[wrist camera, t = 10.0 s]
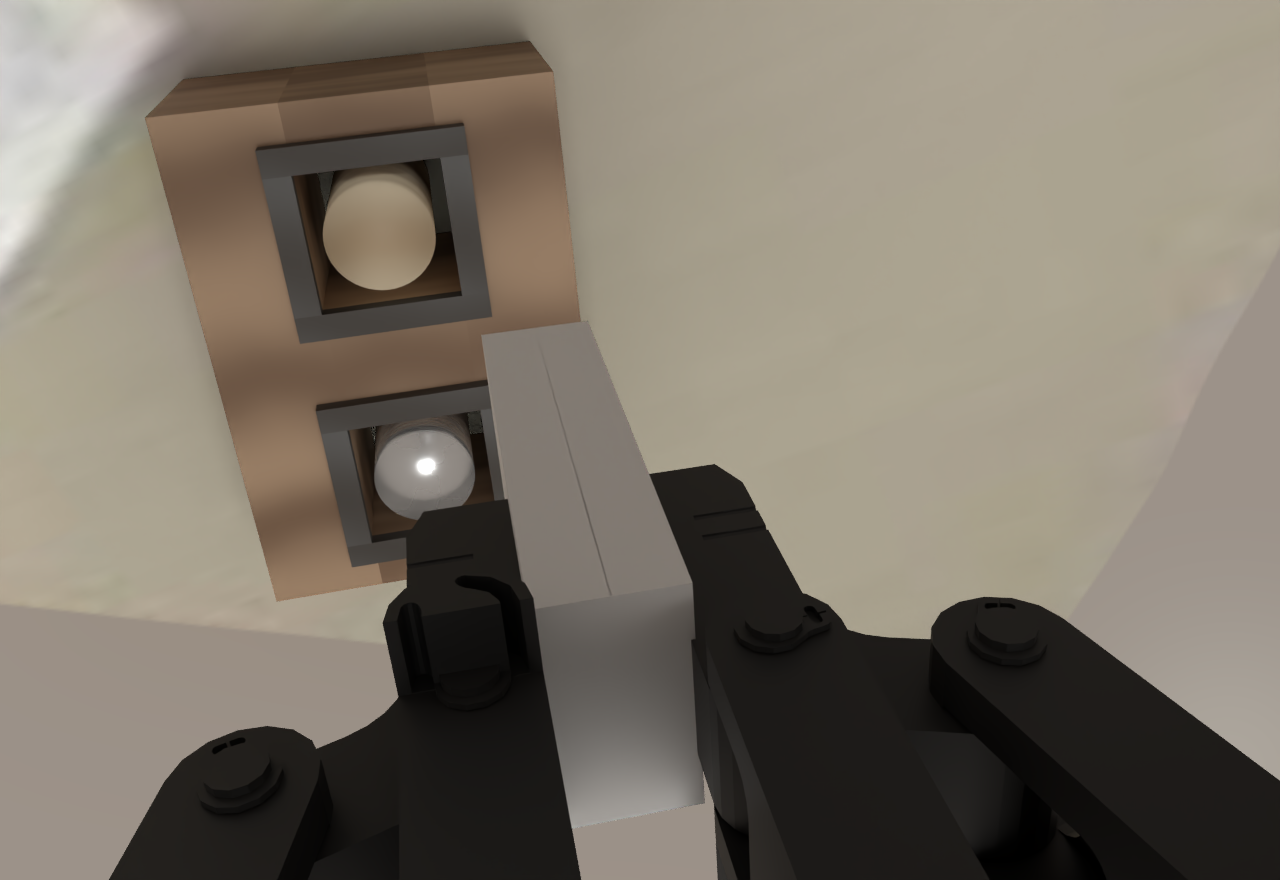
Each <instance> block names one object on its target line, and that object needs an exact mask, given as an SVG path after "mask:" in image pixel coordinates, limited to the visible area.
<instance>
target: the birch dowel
mask: <svg viewBox="0 0 1280 880" xmlns="http://www.w3.org/2000/svg"><path fill="white" fill-rule="evenodd" d="M323 242H324V247H325V250H326V253H327V255H328V258H329V260H330V261H331V263H332V265H333V266H334V267H335V268H336V270H337V271H338V272H339V273H340V274H341V275H342V276H344V277H345V278H346V279H348V280H349V281H351V282H353V283H354V284H356V285H359V286H361V287H364V288H368V289H373V290H390V289H395V288H399V287H402V286H404V285H406V284H409V283H410V282H412V281H413V280H415V279H416V278H417V277H419V276H420V275H421V274H422V273H423V272H424V270H425V269H426V268H427V266H428V265H429V263H430V261H431V259H432V256H433V253H434V250H435V243H436V235H435V225H434V216H433V207H432V198H431V189H430V180H429V175H428V171H427V168H426V166H425V164H424V162H423V160H419V161H410V162H402V163H394V164H386V165H378V166H370V167H361V168H353V169H345V170H337V171H334V175H333V180H332V185H331V190H330V195H329V201H328V206H327V211H326V216H325V221H324V227H323Z"/></svg>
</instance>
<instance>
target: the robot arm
mask: <svg viewBox="0 0 1280 880" xmlns="http://www.w3.org/2000/svg"><path fill="white" fill-rule="evenodd" d="M481 337H482V344H483V351H484V358H485V365H486V372H487V379H488V386H489V393H490V400H491V407H492V414H493V421H494V428H495V435H496V442H497V449H498V456H499V463H500V470H501V477H502V484H503V491H504V498H505V499H503V500H496V501H490V502H483V503H477V504H470V505H463V506H457V507H450V508H444V509H437V510H431V511H424V512H423V513H422V515H421V516H420V518H419V519H418V521H417V522H416V524H415V525H414V527H413V528H412V530H411V531H410V533H409V534H408V536H407V537H406V564H407V588H406V589H404V590H403V591H402V592H401V593H400V594H399V595H398V596H397V597H396V598H395V599H394V600H393V601H392V602H391V603H390V604H389V606H388V609H387V612H386V615H385V618H384V621H383V627H384V631H385V636H386V641H387V645H388V650H389V655H390V659H391V664H392V668H393V673H394V678H395V683H396V687H397V692H398V696H399V697H398V699H397V700H396V701H395V702H394V704H393V705H392V706H391V707H390V708H389V709H388V710H387V711H386V712H385V713H384V714H383V715H382V716H380V717H379V718H378V719H376V720H375V721H373V722H372V723H371V724H369V725H368V726H366V727H364V728H362V729H360V730H358V731H356V732H354V733H352V734H351V735H349V736H346V737H344V738H342V739H339V740H337V741H335V742H332V743H330V744H327V745H325V746H322V747H320V748H317V749H316V748H315V746H314V744H313V742H312V740H310V739H308V738H307V737H305V736H303V735H302V734H300V733H298V732H296V731H295V730H293V729H285V728H277V727H270V726H265V727H258V728H251V729H244V730H238V731H235V732H233V733H230V734H227V735H225V736H223V737H220V738H218V739H215V740H212V741H210V742H208V743H206V744H205V745H203V746H202V747H200V748H199V749H198V750H196V751H195V752H193V753H192V754H191V755H189V756H187V757H186V758H185V759H183V760H182V761H181V762H180V763H179V765H178V766H177V767H176V768H175V770H174V771H173V772H172V773H171V774H170V776H169V777H168V778H167V779H166V780H165V782H164V783H163V785H162V787H161V789H160V790H159V792H158V794H157V796H156V798H155V799H154V801H153V803H152V805H151V807H150V808H149V810H148V812H147V813H146V815H145V817H144V819H143V821H142V822H141V824H140V826H139V827H138V829H137V831H136V833H135V835H134V836H133V838H132V840H131V842H130V843H129V845H128V847H127V849H126V850H125V852H124V854H123V856H122V858H121V859H120V861H119V863H118V865H117V866H116V868H115V870H114V872H113V873H112V875H111V877H110V879H109V880H581V876H580V871H579V865H578V860H577V855H576V849H575V843H574V838H573V833H572V829H573V828H578V827H583V826H588V825H593V824H599V823H603V822H609V821H614V820H620V819H625V818H630V817H635V816H640V815H646V814H651V813H656V812H661V811H666V810H672V809H677V808H682V807H687V806H692V805H698V804H703V803H705V799H704V781H703V772H704V775H705V777H706V780H707V784H708V787H709V790H710V793H711V796H712V799H713V802H714V812H715V833H716V850H717V851H716V853H717V872H718V880H1280V781H1279V780H1278V779H1277V778H1275V777H1274V776H1273V775H1271V774H1270V773H1269V772H1267V771H1266V770H1265V769H1263V768H1262V767H1261V766H1259V765H1258V764H1257V763H1255V762H1254V761H1253V760H1251V759H1250V758H1249V757H1247V756H1246V755H1245V754H1243V753H1242V752H1241V751H1239V750H1238V749H1237V748H1235V747H1234V746H1233V745H1231V744H1230V743H1229V742H1227V741H1226V740H1225V739H1223V738H1222V737H1221V736H1219V735H1218V734H1217V733H1215V732H1214V731H1212V730H1211V729H1210V728H1209V727H1207V726H1206V725H1204V724H1203V723H1202V722H1201V721H1199V720H1198V719H1196V718H1195V717H1194V716H1193V715H1191V714H1190V713H1188V712H1187V711H1186V710H1184V709H1183V708H1182V707H1181V706H1179V705H1178V704H1177V703H1175V702H1174V701H1172V700H1171V699H1170V698H1169V697H1167V696H1166V695H1165V694H1163V693H1162V692H1160V691H1159V690H1158V689H1157V688H1155V687H1154V686H1153V685H1151V684H1150V683H1149V682H1147V681H1146V680H1144V679H1143V678H1142V677H1141V676H1139V675H1138V674H1137V673H1135V672H1134V671H1132V670H1131V669H1130V668H1128V667H1127V666H1126V665H1124V664H1123V663H1122V662H1120V661H1119V660H1118V659H1116V658H1115V657H1114V656H1112V655H1111V654H1110V653H1108V652H1107V651H1106V650H1104V649H1103V648H1102V647H1100V646H1099V645H1098V644H1096V643H1095V642H1094V641H1092V640H1091V639H1090V638H1088V637H1087V636H1086V635H1084V634H1083V633H1082V632H1080V631H1079V630H1078V629H1076V628H1075V627H1074V626H1072V625H1071V624H1070V623H1068V622H1067V621H1066V620H1064V619H1063V618H1061V617H1060V616H1058V615H1056V614H1054V613H1052V612H1050V611H1049V610H1047V609H1045V608H1043V607H1041V606H1039V605H1036V604H1032V603H1028V602H1025V601H1021V600H1017V599H1013V598H997V597H981V598H976V599H972V600H967V601H962V602H958V603H957V604H955V605H953V606H951V607H950V608H948V609H946V610H944V611H943V612H941V613H940V615H939V616H938V618H937V620H936V621H935V623H934V624H933V626H932V628H931V639H910V638H889V637H880V636H872V635H865V634H861V633H857V632H854V631H850V630H847V628H846V626H845V625H844V623H843V621H842V619H841V618H840V617H839V616H838V615H837V614H836V613H835V612H834V611H833V610H832V609H831V607H830V606H829V605H828V604H826V603H824V602H822V601H820V600H818V599H815V598H813V597H811V596H809V595H807V594H803V593H802V591H801V589H800V588H799V586H798V584H797V582H796V580H795V578H794V577H793V575H792V573H791V571H790V569H789V567H788V565H787V564H786V562H785V560H784V558H783V556H782V554H781V553H780V551H779V549H778V547H777V545H776V543H775V541H774V540H773V538H772V536H771V534H770V532H769V530H766V525H765V523H764V521H763V519H762V517H761V516H760V514H759V512H758V510H757V511H756V508H755V505H754V503H753V501H752V499H751V497H750V495H749V493H748V492H747V490H746V488H745V486H744V484H743V482H741V481H740V480H738V479H737V478H735V477H734V476H732V475H731V474H729V473H727V472H726V471H724V470H723V469H721V468H720V467H718V466H717V465H715V464H713V465H706V466H699V467H693V468H686V469H680V470H673V471H667V472H660V473H653V474H649V473H648V470H647V468H646V465H645V463H644V460H643V458H642V455H641V453H640V450H639V448H638V445H637V443H636V440H635V438H634V435H633V433H632V430H631V428H630V425H629V423H628V420H627V418H626V415H625V413H624V410H623V408H622V405H621V403H620V400H619V398H618V395H617V393H616V390H615V388H614V385H613V383H612V380H611V378H610V375H609V373H608V370H607V368H606V365H605V363H604V360H603V358H602V355H601V353H600V350H599V348H598V345H597V343H596V340H595V338H594V335H593V333H592V330H591V328H590V325H589V323H588V321H583V322H575V323H568V324H560V325H553V326H545V327H538V328H530V329H523V330H515V331H508V332H500V333H493V334H485V335H481Z"/></svg>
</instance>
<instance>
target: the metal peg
mask: <svg viewBox="0 0 1280 880" xmlns="http://www.w3.org/2000/svg"><path fill="white" fill-rule="evenodd" d="M374 481H375V487H376V490H377V492H378V495H379V497H380V498H381V500H382V501H383V502H384V503H385V505H386V506H388V507H389V508H390V509H391V510H392V511H394V512H395V513H397V514H399V515H401V516H404V517H407V518H410V519H415V520H418V519H419V518H420V516H421V515H422V513H423V512H424V511H431V510H437V509H444V508H450V507H457V506H462V505H463V504H464V502H465V501H466V500H467V499H468V497H469V496H470V494H471V492H472V489H473V486H474V482H475V469H474V461H473V453H472V446H471V438H470V431H469V423H468V415H467V412H465V413H459V414H452V415H446V416H439V417H433V418H426V419H419V420H413V421H406V422H400V423H393V424H386V425H380V426H376V440H375V469H374Z"/></svg>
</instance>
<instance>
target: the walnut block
mask: <svg viewBox="0 0 1280 880" xmlns="http://www.w3.org/2000/svg"><path fill="white" fill-rule="evenodd" d="M145 120H146V124H147V127H148V131H149V135H150V138H151V142H152V146H153V149H154V153H155V157H156V160H157V164H158V168H159V171H160V175H161V179H162V182H163V186H164V190H165V193H166V197H167V201H168V204H169V208H170V212H171V215H172V219H173V223H174V226H175V230H176V234H177V237H178V241H179V245H180V248H181V252H182V256H183V259H184V263H185V267H186V270H187V274H188V278H189V281H190V285H191V289H192V292H193V296H194V300H195V303H196V307H197V311H198V314H199V318H200V322H201V325H202V329H203V333H204V336H205V340H206V344H207V347H208V351H209V355H210V358H211V362H212V366H213V369H214V373H215V377H216V380H217V384H218V388H219V391H220V395H221V399H222V402H223V406H224V410H225V413H226V417H227V421H228V424H229V428H230V432H231V435H232V439H233V443H234V446H235V450H236V454H237V457H238V461H239V465H240V468H241V472H242V476H243V479H244V483H245V487H246V490H247V494H248V498H249V501H250V505H251V509H252V512H253V516H254V520H255V523H256V527H257V531H258V534H259V538H260V542H261V545H262V549H263V553H264V556H265V560H266V564H267V567H268V571H269V575H270V578H271V582H272V586H273V589H274V593H275V597H276V600H277V601H282V600H288V599H294V598H300V597H306V596H312V595H318V594H324V593H329V592H335V591H341V590H347V589H353V588H359V587H365V586H371V585H377V584H382V583H388V582H394V581H400V580H406V579H407V564H406V537H407V536H408V534H409V533H410V531H411V530H412V528H413V527H414V525H415V524H416V522H417V521H418V520H415V519H410V518H407V517H404V516H401V515H399V514H397V513H395V512H394V511H392V510H391V509H390V508H389V507H388V506H386V505H385V503H384V502H383V501H382V500H381V498H380V497H379V495H378V492H377V490H376V487H375V481H374V469H375V446H374V442H373V437H372V432H371V427H373V426H380V425H386V424H393V423H400V422H406V421H413V420H419V419H426V418H433V417H439V416H446V415H452V414H459V413H465V412H472V411H479V410H480V411H481V418H482V424H483V430H484V433H478V434H472V435H470V438H471V446H472V453H473V461H474V469H475V482H474V486H473V489H472V492H471V494H470V496H469V497H468V499H467V500H466V501H465V502H464V504H463V505H470V504H477V503H483V502H490V501H496V500H503V499H505V498H504V491H503V484H502V477H501V470H500V463H499V456H498V449H497V442H496V435H495V428H494V421H493V414H492V407H491V400H490V393H489V386H488V379H487V372H486V365H485V358H484V351H483V344H482V337H481V335H485V334H493V333H500V332H508V331H515V330H523V329H530V328H538V327H545V326H553V325H560V324H568V323H575V322H581V321H580V312H579V303H578V294H577V285H576V276H575V267H574V257H573V248H572V239H571V230H570V221H569V212H568V203H567V193H566V184H565V175H564V166H563V157H562V148H561V139H560V129H559V120H558V111H557V102H556V93H555V84H554V75H553V71H552V69H551V68H550V67H549V65H548V64H547V63H546V62H545V60H544V59H543V58H542V56H541V55H540V54H539V52H538V51H537V50H536V49H535V47H534V46H533V45H532V43H531V42H530V41H528V42H519V43H509V44H500V45H491V46H482V47H473V48H464V49H455V50H446V51H437V52H428V53H419V54H410V55H400V56H391V57H382V58H373V59H364V60H355V61H346V62H337V63H328V64H319V65H310V66H300V67H291V68H282V69H273V70H264V71H255V72H246V73H237V74H228V75H219V76H210V77H200V78H191V79H183V80H182V81H181V82H180V83H179V84H178V85H177V86H176V87H175V88H174V89H173V90H172V91H171V92H170V93H169V94H168V95H167V96H166V97H165V98H164V99H163V100H162V101H161V102H160V103H159V104H158V105H157V106H156V107H155V108H154V109H153V110H152V111H151V112H150V113H149V114H148V115H147V116H146V117H145ZM435 158H440V159H441V165H442V172H443V178H444V184H445V191H446V197H447V203H448V209H449V216H450V222H451V228H452V232H446V233H439V234H435V235H436V243H435V250H434V253H433V256H432V259H431V261H430V263H429V265H428V266H427V268H426V269H425V270H424V272H423V273H422V274H421V275H420V276H419V277H417V278H416V279H415V280H413V281H412V282H410V283H409V284H406V285H404V286H402V287H399V288H395V289H390V290H373V289H368V288H364V287H361V286H359V285H356V284H354V283H353V282H351V281H349V280H348V279H346V278H345V277H344V276H342V275H341V274H340V273H339V272H338V271H337V270H336V268H335V267H334V266H333V265H332V263H331V261H330V260H329V258H328V255H327V253H326V250H325V247H324V242H323V227H324V221H325V216H326V212H325V207H324V203H323V198H322V193H321V188H320V184H319V179H318V174H317V173H320V172H329V171H337V170H345V169H353V168H361V167H370V166H378V165H386V164H394V163H402V162H410V161H419V160H427V159H435ZM463 505H462V506H463Z"/></svg>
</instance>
